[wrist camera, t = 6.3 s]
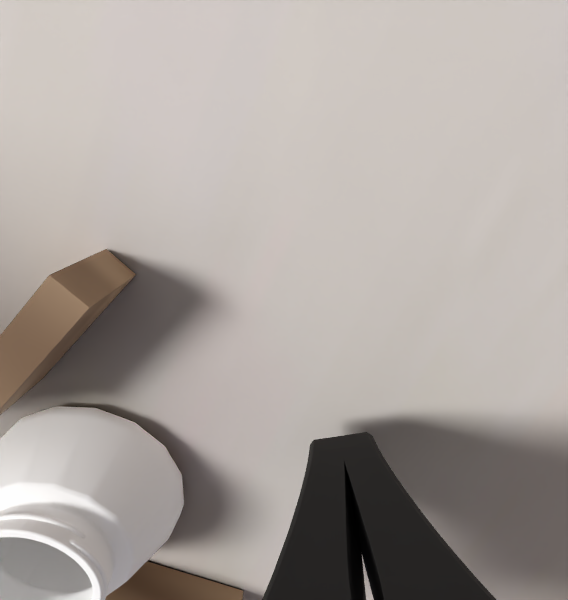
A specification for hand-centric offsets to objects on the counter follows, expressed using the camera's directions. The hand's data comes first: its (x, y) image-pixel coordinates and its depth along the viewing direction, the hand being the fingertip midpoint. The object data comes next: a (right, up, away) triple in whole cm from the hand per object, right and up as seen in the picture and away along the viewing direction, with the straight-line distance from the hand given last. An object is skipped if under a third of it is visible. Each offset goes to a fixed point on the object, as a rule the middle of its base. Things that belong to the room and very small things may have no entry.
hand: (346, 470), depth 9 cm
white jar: (-7, -1, +2) cm, 7 cm away
